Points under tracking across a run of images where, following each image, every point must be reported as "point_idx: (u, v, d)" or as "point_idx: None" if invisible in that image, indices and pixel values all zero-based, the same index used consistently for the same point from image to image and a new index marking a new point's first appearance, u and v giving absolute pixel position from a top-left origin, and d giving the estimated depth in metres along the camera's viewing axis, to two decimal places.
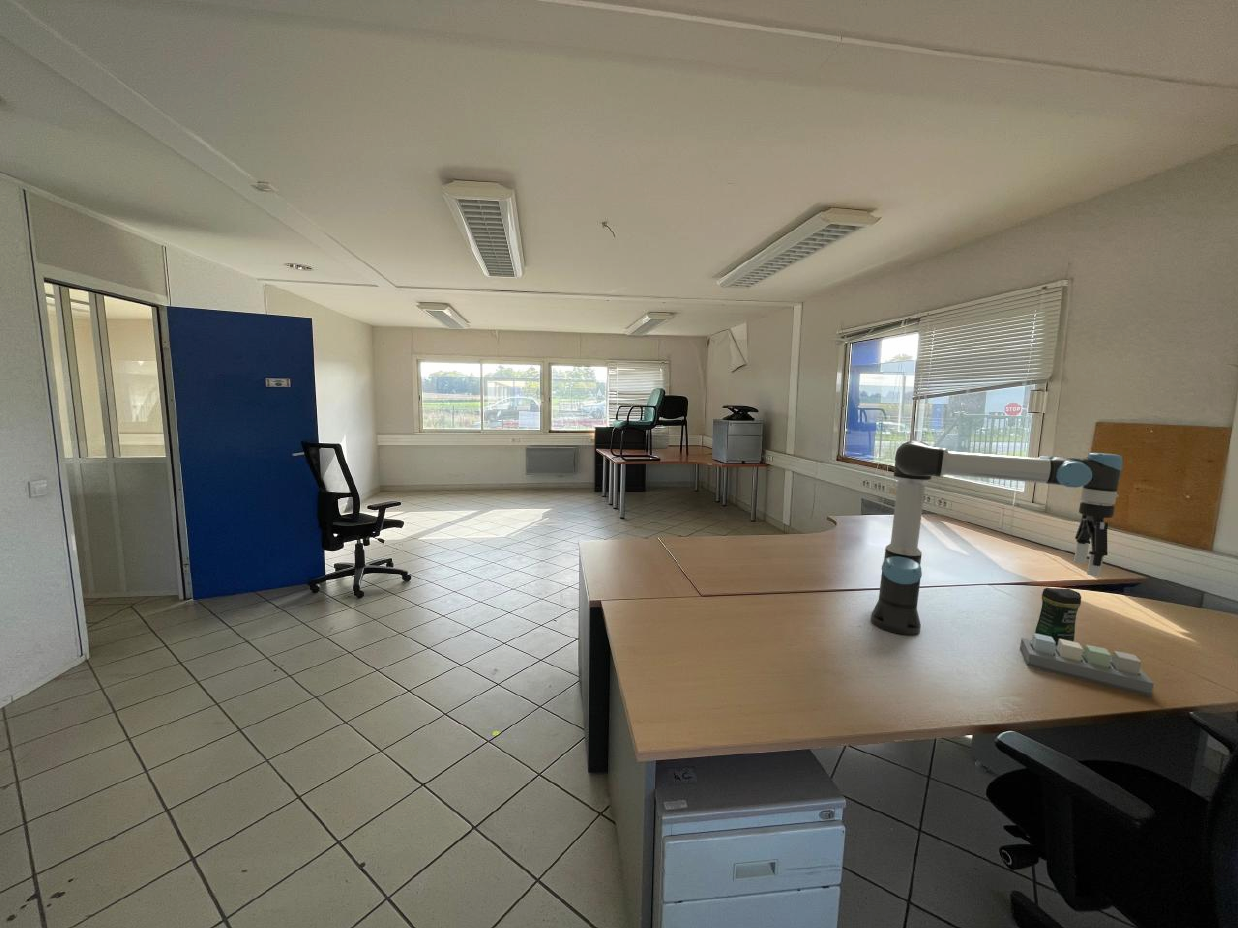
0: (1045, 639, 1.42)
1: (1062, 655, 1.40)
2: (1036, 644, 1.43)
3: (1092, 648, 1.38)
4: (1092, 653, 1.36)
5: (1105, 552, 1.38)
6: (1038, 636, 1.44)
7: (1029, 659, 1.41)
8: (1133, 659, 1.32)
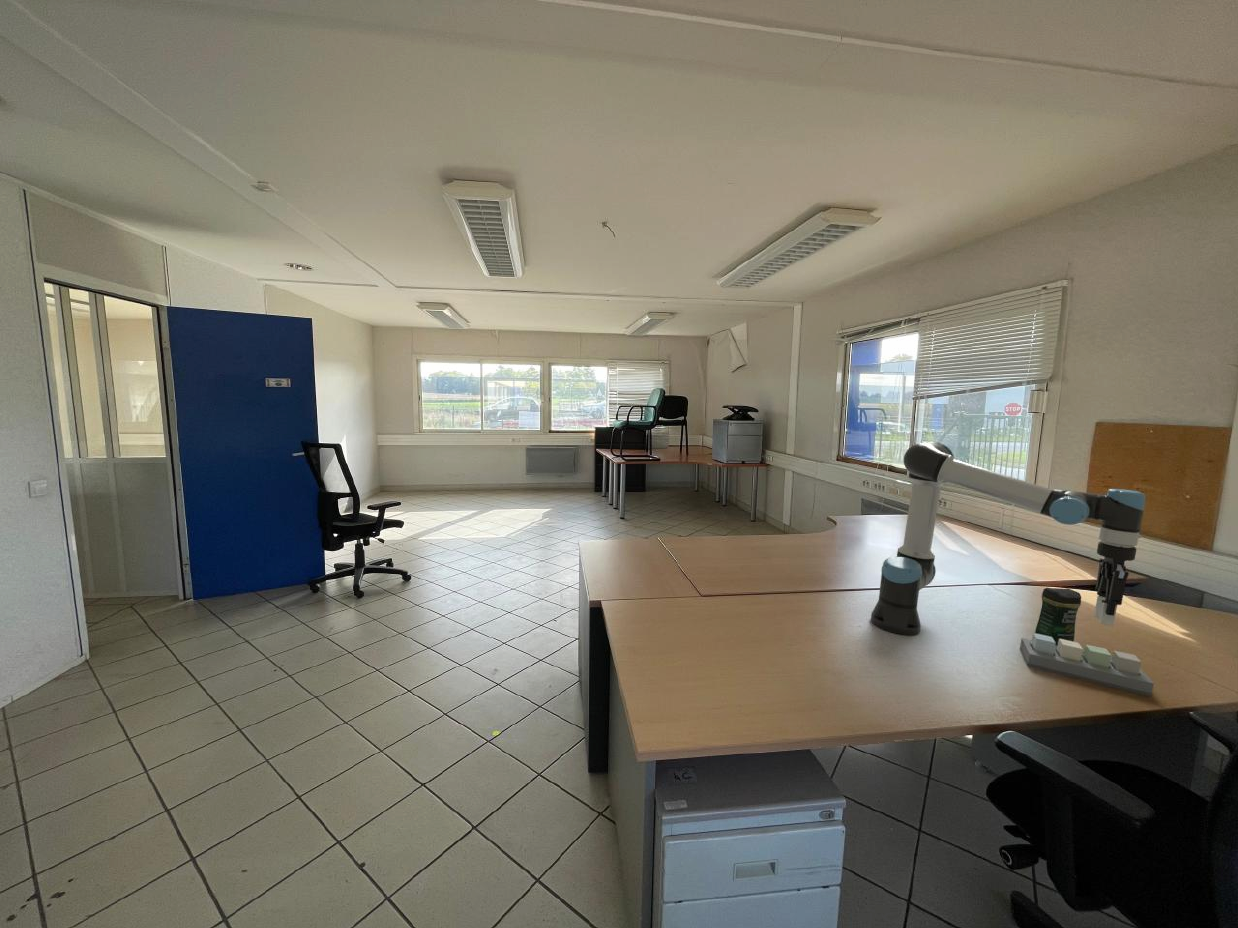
0: (1045, 639, 1.42)
1: (1062, 655, 1.40)
2: (1036, 644, 1.43)
3: (1092, 648, 1.38)
4: (1092, 653, 1.36)
5: (1119, 602, 1.30)
6: (1038, 636, 1.44)
7: (1029, 659, 1.41)
8: (1133, 659, 1.32)
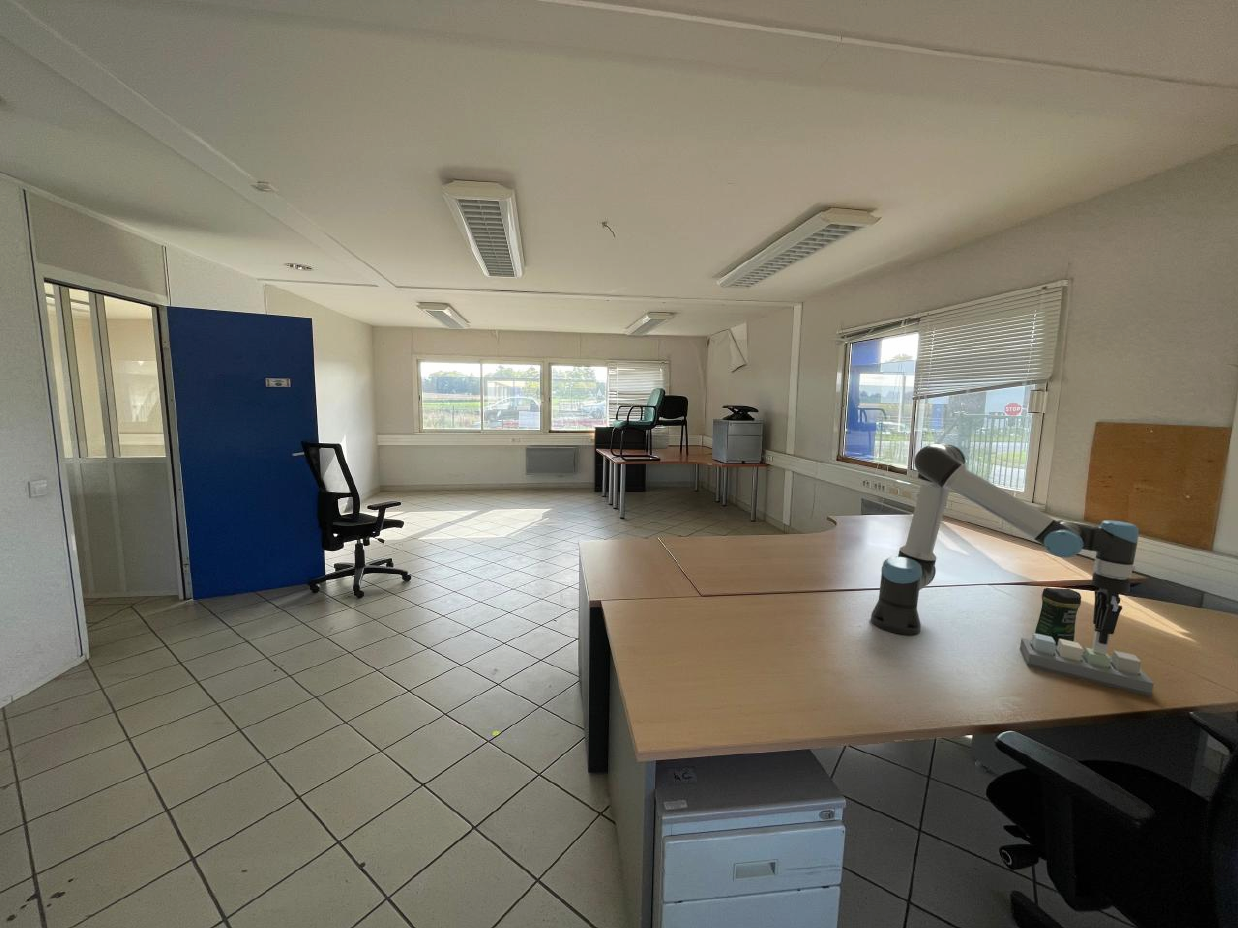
0: (1045, 639, 1.42)
1: (1062, 655, 1.40)
2: (1036, 644, 1.43)
3: (1091, 651, 1.38)
4: (1092, 656, 1.36)
5: (1111, 632, 1.33)
6: (1038, 636, 1.44)
7: (1029, 659, 1.41)
8: (1133, 659, 1.32)
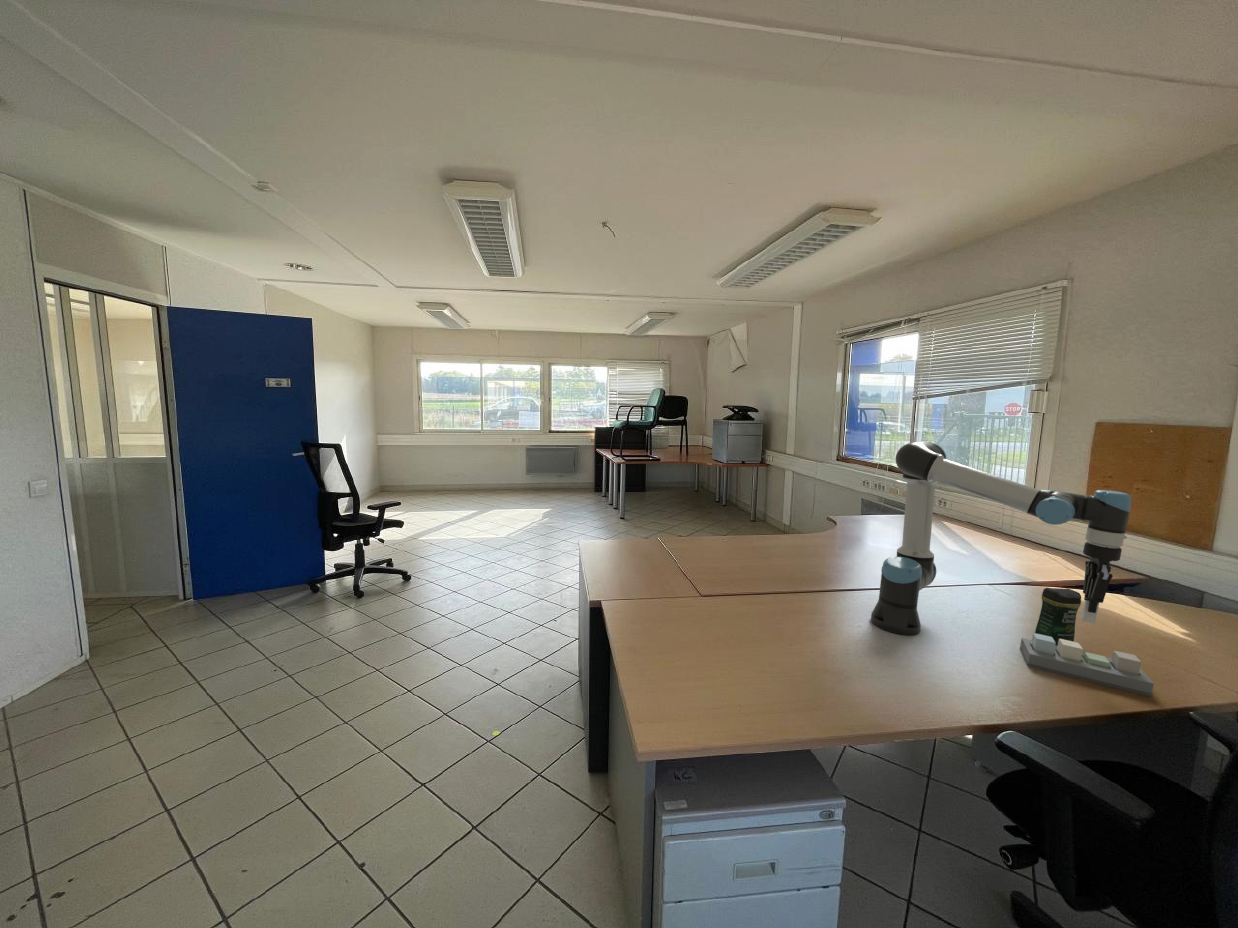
0: (1045, 639, 1.42)
1: (1062, 655, 1.40)
2: (1036, 644, 1.43)
3: (1090, 656, 1.38)
4: (1091, 660, 1.37)
5: (1101, 601, 1.33)
6: (1038, 636, 1.44)
7: (1029, 659, 1.41)
8: (1133, 659, 1.32)
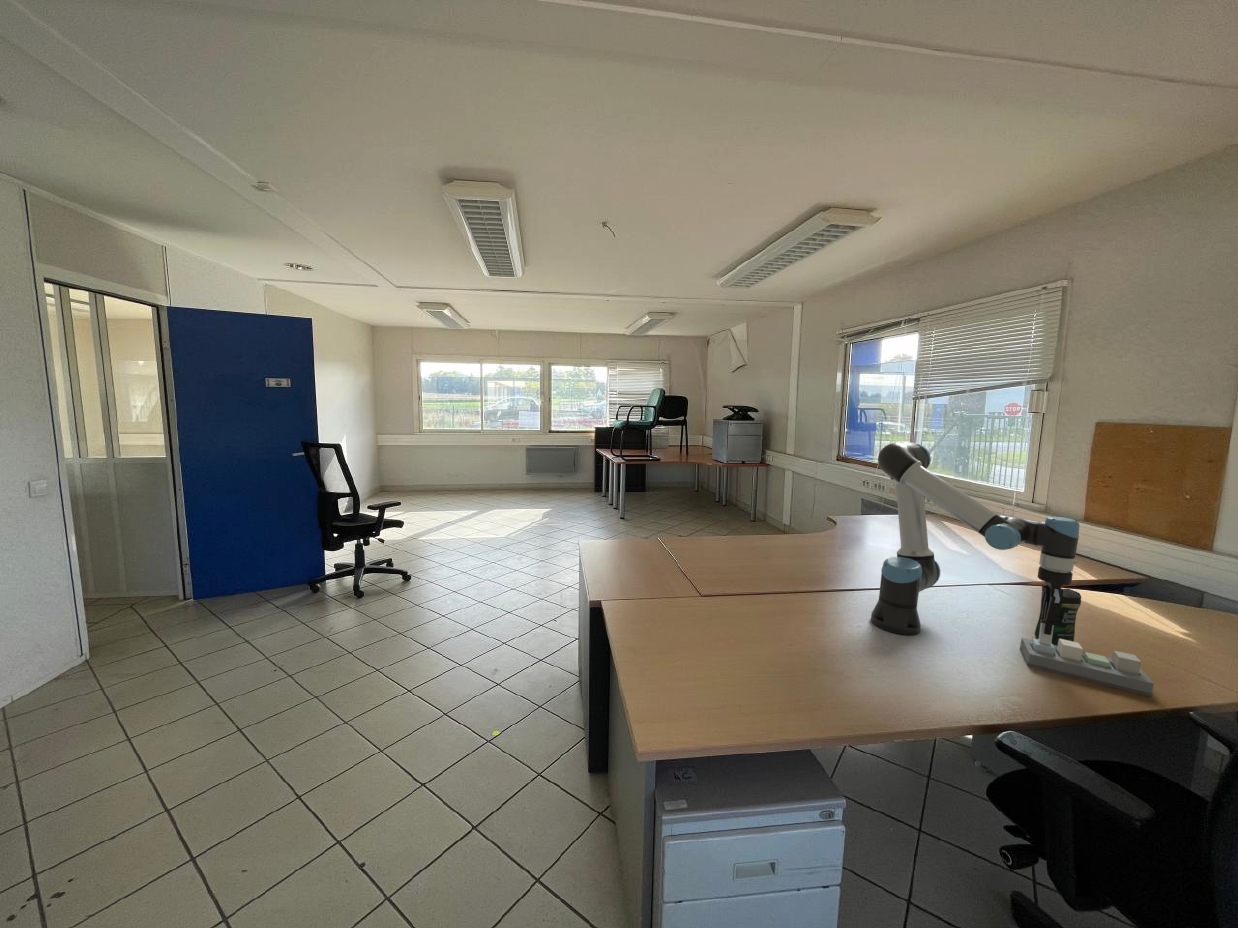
0: (1044, 644, 1.43)
1: (1062, 655, 1.40)
2: (1035, 649, 1.43)
3: (1090, 656, 1.38)
4: (1091, 660, 1.37)
5: (1054, 623, 1.39)
6: (1037, 641, 1.44)
7: (1029, 659, 1.41)
8: (1133, 659, 1.32)
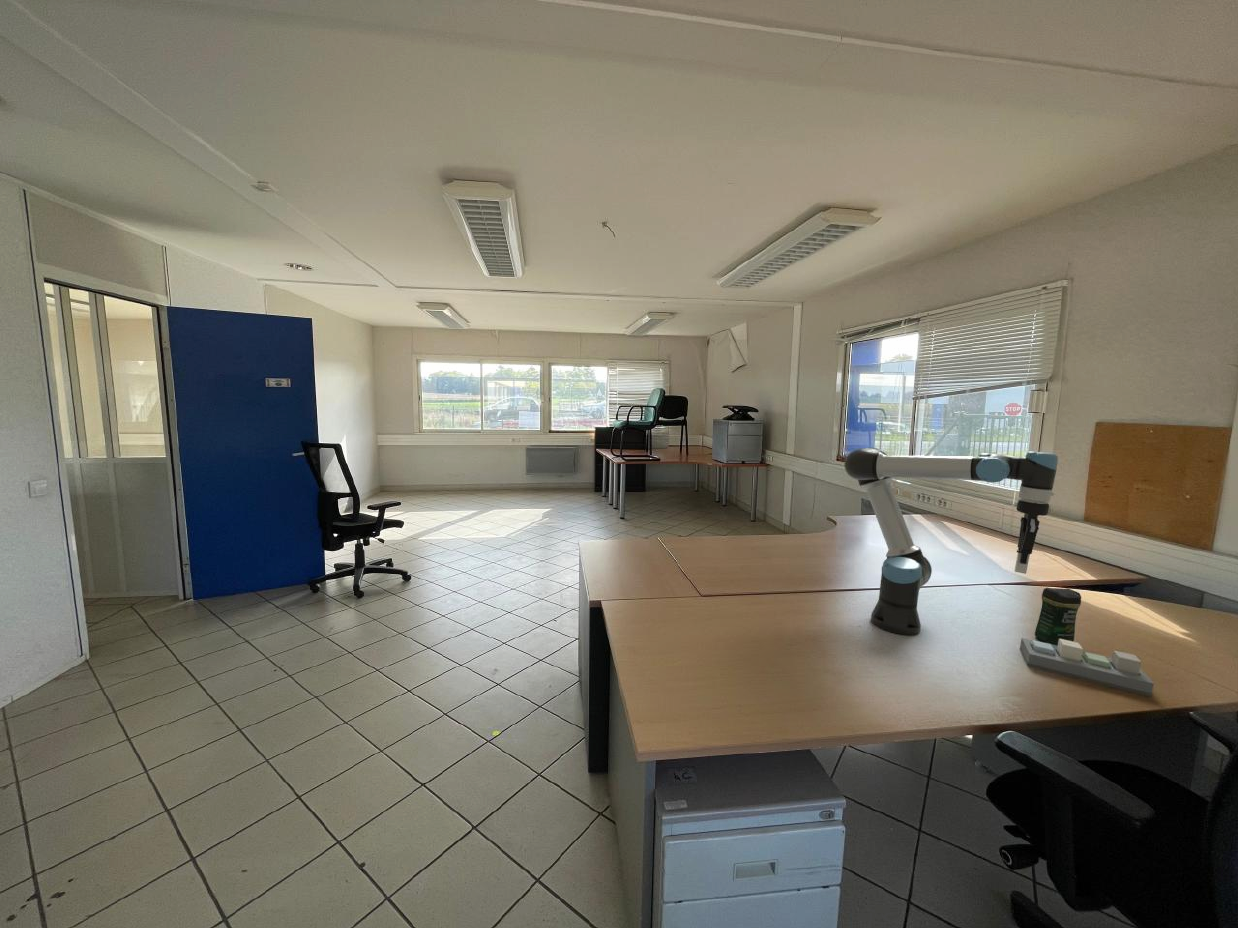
0: (1044, 646, 1.43)
1: (1062, 655, 1.40)
2: None
3: (1090, 656, 1.38)
4: (1091, 660, 1.37)
5: (1030, 552, 1.46)
6: (1036, 643, 1.44)
7: (1029, 659, 1.41)
8: (1133, 659, 1.32)
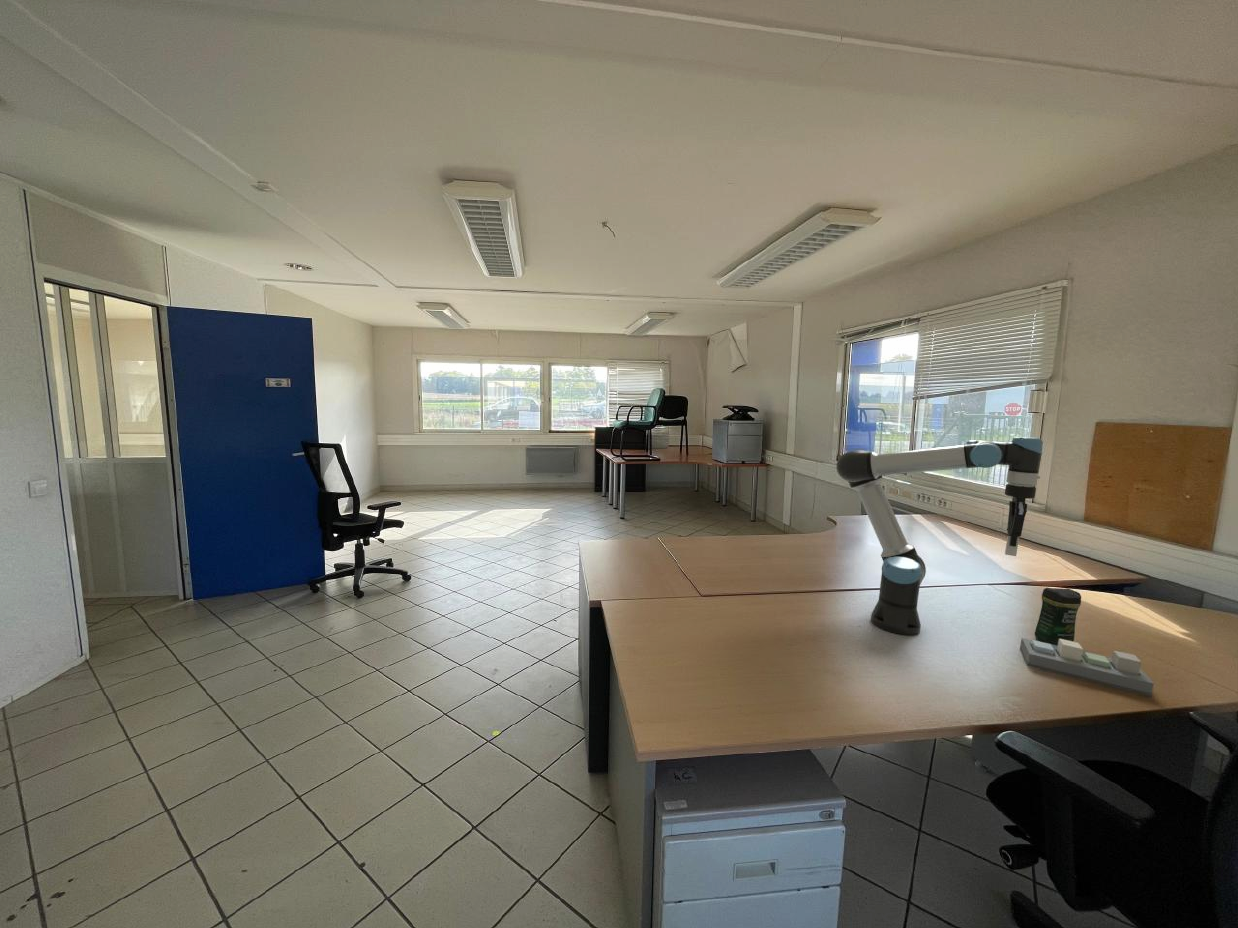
0: (1044, 646, 1.43)
1: (1062, 655, 1.40)
2: None
3: (1090, 656, 1.38)
4: (1091, 660, 1.37)
5: (1019, 534, 1.50)
6: (1036, 643, 1.44)
7: (1029, 659, 1.41)
8: (1133, 659, 1.32)
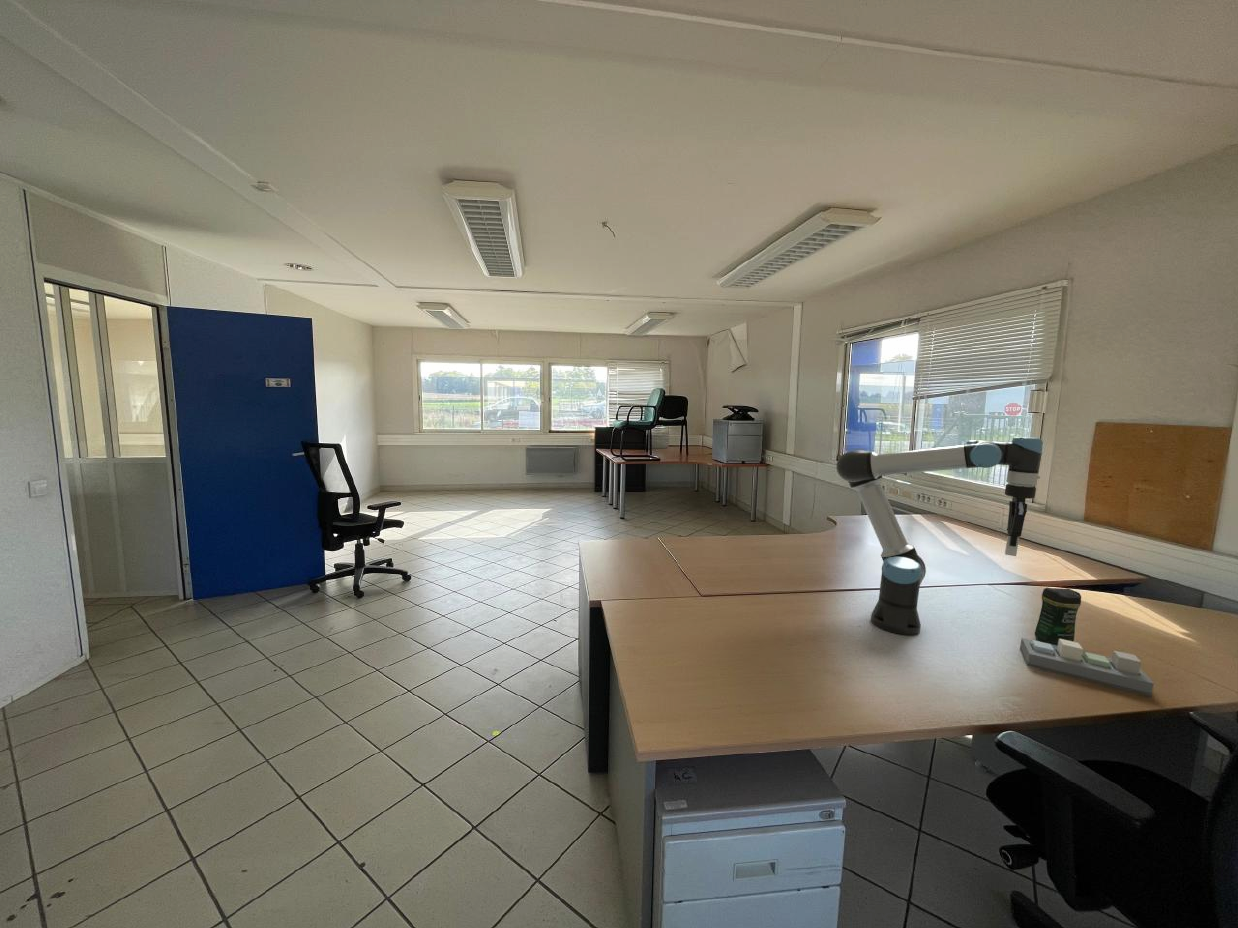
0: (1044, 646, 1.43)
1: (1062, 655, 1.40)
2: None
3: (1090, 656, 1.38)
4: (1091, 660, 1.37)
5: (1019, 534, 1.50)
6: (1036, 643, 1.44)
7: (1029, 659, 1.41)
8: (1133, 659, 1.32)
